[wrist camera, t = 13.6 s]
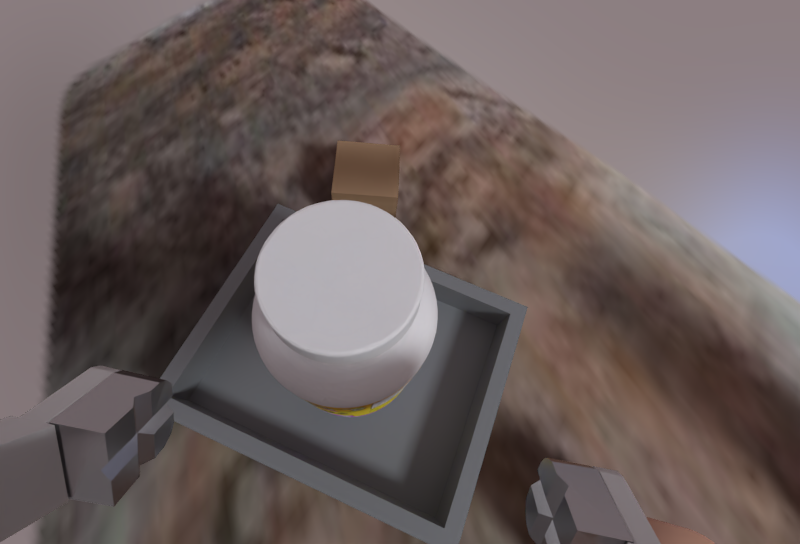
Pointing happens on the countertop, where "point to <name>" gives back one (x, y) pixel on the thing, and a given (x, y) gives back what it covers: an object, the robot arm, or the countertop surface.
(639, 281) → the countertop surface
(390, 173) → the walnut block
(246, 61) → the countertop surface
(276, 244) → the supplement bottle
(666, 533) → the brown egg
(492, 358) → the tray
